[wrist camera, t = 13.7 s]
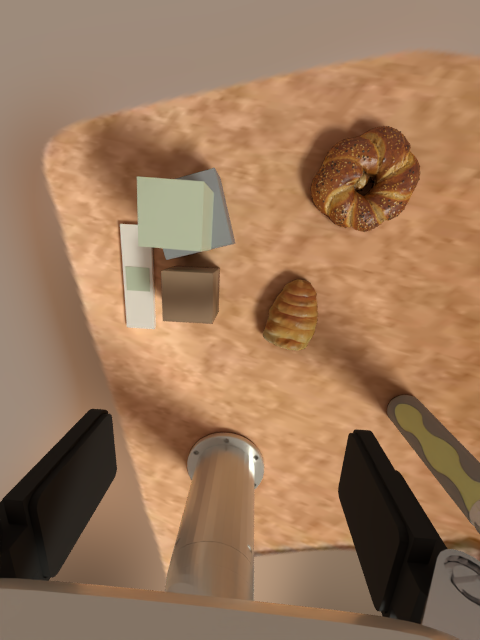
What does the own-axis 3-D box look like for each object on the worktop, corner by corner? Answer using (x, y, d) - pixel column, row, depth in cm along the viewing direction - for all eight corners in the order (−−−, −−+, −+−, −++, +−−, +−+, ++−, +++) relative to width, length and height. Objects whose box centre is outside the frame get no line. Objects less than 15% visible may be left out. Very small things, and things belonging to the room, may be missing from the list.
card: (155, 327, 40) (154, 329, 39) (128, 325, 40) (126, 327, 39) (152, 225, 36) (150, 225, 35) (121, 224, 36) (119, 223, 35)
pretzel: (311, 237, 35) (317, 237, 32) (306, 142, 33) (313, 130, 29) (408, 226, 34) (425, 224, 31) (413, 126, 31) (433, 111, 28)
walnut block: (218, 311, 39) (212, 323, 33) (176, 308, 39) (162, 320, 33) (219, 268, 37) (213, 273, 31) (175, 265, 37) (161, 270, 32)
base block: (235, 243, 36) (232, 243, 31) (177, 257, 37) (166, 260, 32) (220, 177, 34) (214, 167, 29) (159, 194, 35) (144, 187, 30)
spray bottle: (426, 406, 41) (576, 553, 22) (400, 427, 42) (521, 583, 23) (403, 386, 40) (538, 521, 21) (378, 408, 41) (483, 553, 22)
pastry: (277, 273, 37) (279, 277, 33) (326, 284, 37) (334, 289, 33) (260, 337, 40) (261, 347, 36) (306, 347, 40) (312, 358, 36)
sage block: (211, 249, 32) (201, 251, 26) (159, 245, 32) (138, 246, 26) (213, 192, 30) (203, 181, 24) (159, 188, 30) (136, 176, 24)
